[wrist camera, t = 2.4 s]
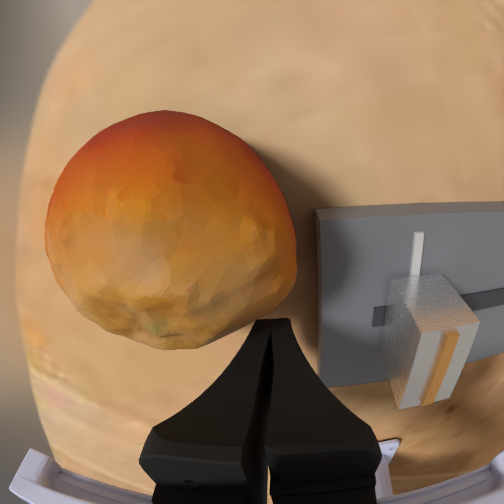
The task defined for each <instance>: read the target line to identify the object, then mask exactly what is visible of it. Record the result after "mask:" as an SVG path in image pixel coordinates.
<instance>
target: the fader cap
mask: <svg viewBox="0 0 504 504" xmlns="http://www.w3.org/2000/svg"><path fill="white" fill-rule="evenodd" d="M479 324H480V321H479V319H478V318H477V317H476V315H475V314H474V313H473V312H472V310H471V309H470V308H469V306H468V305H467V304H466V303H465V301H464V300H463V299H462V298H461V297H460V295H459V294H458V293H457V292H456V290H455V289H454V288H453V287H452V286H451V285H450V283H449V282H448V281H447V280H446V279H445V277H444V276H443V275H442V274H441V273H436V274H428V275H419V276H410V277H401V278H391V279H390V286H389V295H388V303H387V310H386V318H385V324H384V331H383V337H382V343H381V348H380V355H381V358H382V361H383V364H384V367H385V370H386V373H387V376H388V379H389V382H390V385H391V388H392V391H393V395H394V398H395V401H396V404H397V408H398V410H400V409H405V408H410V407H414V406H419V405H422V406H425V405H429V404H433V402H436V401H440V400H443V399H447V398H450V396H451V394H452V391H453V389H454V387H455V385H456V383H457V381H458V378H459V376H460V374H461V371H462V369H463V367H464V364H465V362H466V359H467V357H468V354H469V352H470V349H471V346H472V344H473V341H474V338H475V336H476V333H477V330H478V327H479Z"/></svg>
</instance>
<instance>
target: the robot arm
mask: <svg viewBox="0 0 504 504" xmlns="http://www.w3.org/2000/svg"><path fill="white" fill-rule="evenodd" d="M399 444H400V443H399V440H398V439H393V440H388V441H383V442H378V440H377V438H376V436H375V434H374V432H373V430H372V429H371V427H370V426H369V425H368V424H367V423H365V422H364V421H363V420H361V419H360V418H359V417H357V416H356V415H355V414H354V413H352V412H351V411H350V410H349V409H348V408H347V407H346V406H344V405H343V404H342V403H341V402H340V401H339V400H338V399H337V398H336V397H335V396H334V395H333V394H332V393H331V392H330V390H329V389H328V388H327V387H326V386H325V385H324V383H323V382H322V381H321V380H320V378H319V377H318V376H317V374H316V373H315V372H314V370H313V369H312V367H311V366H310V364H309V362H308V361H307V359H306V357H305V356H304V354H303V352H302V350H301V348H300V346H299V344H298V342H297V340H296V338H295V335H294V333H293V330H292V327H291V321H290V319H288V318H277V319H259V320H256V321H255V322H254V325H253V327H252V329H251V331H250V333H249V335H248V336H247V338H246V340H245V342H244V343H243V345H242V346H241V348H240V350H239V351H238V353H237V354H236V356H235V357H234V358H233V360H232V361H231V362H230V364H229V365H228V366H227V368H226V369H225V370H224V371H223V373H222V374H221V375H220V376H219V377H218V378H217V379H216V380H215V382H214V383H213V384H212V385H211V386H210V387H209V388H207V389H206V390H205V391H204V392H203V393H202V394H201V395H200V396H199V397H198V398H196V399H195V400H194V401H193V402H191V403H190V404H189V405H187V406H186V407H185V408H183V409H182V410H181V411H179V412H178V413H176V414H175V415H173V416H172V417H170V418H168V419H167V420H165V421H163V422H161V423H160V424H158V425H156V426H154V427H153V428H152V430H151V432H150V434H149V435H148V437H147V439H146V441H145V444H144V447H143V450H142V452H141V455H140V458H139V464H140V465H141V467H142V468H143V470H144V471H145V472H146V473H147V474H148V475H149V477H150V478H151V479H152V480H153V481H154V482H155V483H156V486H155V490H154V493H153V496H151V495H147V494H142V493H138V492H134V491H130V490H127V489H123V488H119V487H116V486H113V485H109V484H106V483H103V482H100V481H97V480H94V479H91V478H88V477H85V476H82V475H80V474H77V473H74V472H72V471H69V470H67V469H64V468H62V467H61V466H60V465H59V464H58V463H57V462H56V461H55V460H54V459H52V458H51V457H49V456H47V455H45V454H43V453H41V452H39V451H36V450H34V449H32V448H30V449H29V451H28V453H27V455H26V456H25V458H24V460H23V462H22V464H21V466H20V467H19V470H18V471H17V473H16V475H15V477H14V479H13V481H12V483H11V485H10V487H9V489H10V490H11V491H12V492H13V493H15V494H16V495H17V496H19V497H20V498H21V499H23V500H24V501H25V502H27V503H28V504H267V482H268V466H269V471H270V476H271V477H270V495H271V497H272V501H273V504H504V450H503V451H501V452H500V453H499V454H497V455H496V456H495V457H494V458H493V459H492V461H491V462H490V463H489V464H487V465H485V466H483V467H480V468H478V469H475V470H473V471H470V472H468V473H465V474H463V475H460V476H457V477H455V478H452V479H449V480H446V481H443V482H440V483H437V484H434V485H431V486H427V487H424V488H420V489H417V490H413V491H409V492H405V493H401V494H397V495H393V490H392V484H391V479H390V473H389V468H388V465H389V463H390V461H391V459H392V458H393V456H394V454H395V452H396V450H397V448H398V446H399Z"/></svg>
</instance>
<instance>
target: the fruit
mask: <svg viewBox="0 0 504 504" xmlns="http://www.w3.org/2000/svg"><path fill="white" fill-rule="evenodd" d="M45 228H46V229H45V250H46V254H47V256H48V258H49V261H50V264H51V267H52V270H53V272H54V275H55V278H56V281H57V283H58V285H59V286H60V288H61V289H62V290H63V292H64V293H65V294H66V295H67V297H68V298H69V299H70V300H71V302H72V303H73V305H74V307H75V309H76V310H77V311H78V312H79V313H80V314H81V315H82V316H84V317H85V318H87V319H89V320H91V321H93V322H94V323H96V324H97V325H98V326H99V327H101V328H103V329H104V330H105V331H107V332H110V333H113V334H117V335H121V336H125V337H127V338H129V339H131V340H134V341H137V342H140V343H143V344H146V345H149V346H151V347H153V348H156V349H161V350H175V349H195V348H199V347H202V346H205V345H207V344H210V343H212V342H214V341H216V340H218V339H220V338H222V337H224V336H226V335H228V334H230V333H233V332H235V331H237V330H239V329H241V328H243V327H244V326H246V325H248V324H250V323H252V322H253V321H255V320H257V319H259V318H261V317H263V316H265V315H267V314H268V313H270V312H272V311H273V310H274V309H275V307H276V306H277V305H279V304H280V303H281V302H282V301H283V300H284V299H285V298H286V297H287V295H288V294H289V292H290V291H291V289H292V288H293V286H294V284H295V283H296V274H297V262H296V236H295V230H294V226H293V222H292V219H291V215H290V212H289V209H288V206H287V203H286V201H285V198H284V196H283V194H282V192H281V190H280V188H279V186H278V184H277V182H276V181H275V179H274V177H273V176H272V174H271V173H270V171H269V170H268V168H267V167H266V165H265V164H264V163H263V161H262V160H261V158H260V157H259V156H258V155H257V154H256V153H255V152H254V151H253V150H252V149H251V148H250V147H249V145H248V144H247V143H246V142H244V141H243V140H242V139H241V138H239V137H238V136H236V135H234V134H233V133H231V132H229V131H227V130H226V129H224V128H222V127H220V126H219V125H217V124H214V123H212V122H210V121H208V120H206V119H204V118H202V117H199V116H195V115H192V114H187V113H183V112H176V111H168V110H162V111H155V112H147V113H143V114H139V115H136V116H133V117H130V118H128V119H125V120H123V121H120V122H118V123H115V124H113V125H111V126H109V127H107V128H106V129H104V130H102V131H100V132H99V133H98V134H96V135H95V136H94V137H93V138H91V139H90V140H89V141H88V142H87V143H86V144H85V145H84V146H83V147H82V148H81V149H80V150H79V151H78V152H77V153H76V154H75V155H74V156H73V157H72V158H71V160H70V161H69V162H68V164H67V165H66V167H65V168H64V170H63V172H62V173H61V175H60V177H59V179H58V181H57V183H56V185H55V187H54V192H53V194H52V196H51V199H50V202H49V206H48V212H47V218H46V221H45Z"/></svg>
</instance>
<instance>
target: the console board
mask: <svg viewBox="0 0 504 504" xmlns="http://www.w3.org/2000/svg"><path fill="white" fill-rule="evenodd" d="M315 214H316V235H317V263H318V376H319V378H320V380H321V381H322V382H323V383H324V385H325V386H326V387H327V388H329V387H339V386H348V385H357V384H364V383H372V382H378V381H385V380H389V379H388V376H387V373H386V370H385V367H384V364H383V361H382V358H381V355H380V348H381V343H382V337H383V331H384V324H385V318H386V310H387V303H388V295H389V286H390V279H391V278H401V277H410V276H419V275H428V274H436V273H441V274H442V275H443V276H444V277H445V279H446V280H447V281H448V282H449V283H450V285H451V286H452V287H453V288H454V289H455V290H456V292H457V293H458V294H459V295H460V297H461V298H462V299H463V300H464V301H465V303H466V304H467V305H468V306H469V308H470V309H471V310H472V312H473V313H474V314H475V315H476V317H477V318H478V319H479V321H480V324H479V327H478V330H477V333H476V336H475V338H474V341H473V344H472V346H471V349H470V352H469V354H468V357H467V359H466V362H465V364H466V363H470V362H473V361H477V360H480V359H484V358H487V357H490V356H494V355H497V354H500V353H503V352H504V202H446V203H415V204H391V205H371V206H353V207H336V208H321V209H315Z"/></svg>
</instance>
